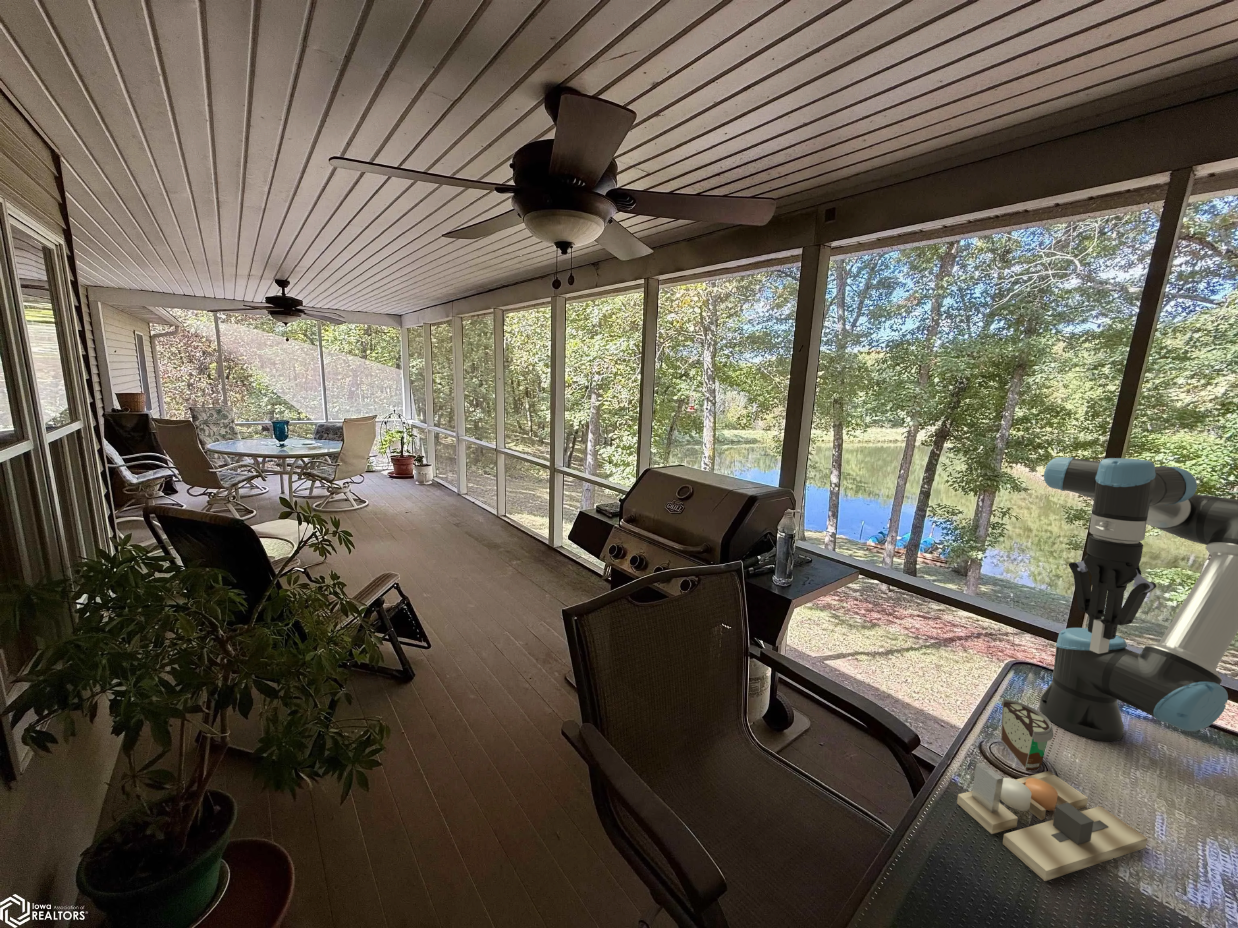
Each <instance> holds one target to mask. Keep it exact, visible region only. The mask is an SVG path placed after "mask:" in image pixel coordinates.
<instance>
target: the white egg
mask: <svg viewBox="0 0 1238 928" xmlns="http://www.w3.org/2000/svg"><path fill="white" fill-rule="evenodd" d="M1002 778H1003V784H1002V790H1001V796H1000V801H1001V802H1003V803H1004V804H1005V805H1006V806H1007V807H1009V808H1012V809H1013V810H1017V811H1022V812H1027V811H1029V808H1030V802H1031V791H1030V790H1029V788H1028V787H1027V786H1025V785H1024V784H1022V783H1021V782H1019V781H1017V780H1016V779H1014V778H1010V777H1002Z"/></svg>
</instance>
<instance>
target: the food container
mask: <svg viewBox="0 0 1238 928" xmlns="http://www.w3.org/2000/svg"><path fill="white" fill-rule="evenodd" d="M1000 705H1001V708H1002V711H1001V730H1000V731H1001V732H1000V734H1001V735H1000V741H1001V742H1002V744H1003V745H1004V746H1005V747H1006V748H1007V750H1008V751H1009V752H1010V753H1011V754H1012V755H1013V757H1014V759H1016V761H1017V763H1019V764H1020V765H1021V766H1023V767H1024V768H1023V767H1022V768H1023V769H1024V770H1025V771H1029V770H1031V771H1037V769H1038V770H1040V768H1041V767H1042V763H1043V761H1044V756H1045V753H1046V750H1047V749H1046V748H1047V746H1048V742H1049V741H1051V740H1052V739H1053V738H1054V729H1053V725H1052V723H1051V721H1050V720H1049V719H1047V717H1046V716H1044V715H1043V714H1042V712H1041V711H1040V710H1038V709H1035V708H1034V707H1031V706H1029V705H1028V704H1024V703H1022V702H1018V701H1016V700H1013V699H1008V698H1007V699H1006V698H1002V701H1001V703H1000ZM1031 771H1030V772H1031Z"/></svg>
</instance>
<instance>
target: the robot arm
mask: <svg viewBox="0 0 1238 928" xmlns="http://www.w3.org/2000/svg"><path fill="white" fill-rule="evenodd" d="M1043 480H1044V483H1045V484H1046V486H1048V487H1049V488H1051V489H1055V490H1060V491H1062V492H1070V493H1071V492H1072V493H1075V494H1078V495H1081V496H1083V497H1087V498H1089V499H1092V500H1093V504H1092V510H1091V516H1090V524H1089V533H1090V535H1089V536H1088V537H1087V543H1086V544H1087V545H1086V553H1087V554H1086V555H1085V556H1084V557H1083V560H1081V561H1076V562H1075V561H1074V562H1069V564H1068V567H1069V569H1070V570H1071V572H1072V574H1073V581H1074V589H1075V595H1076V601H1077V603H1076V604H1077V609H1078V610H1079V611H1080V612H1082V613H1083V612H1084V613H1085V614H1087V616H1088V624H1087V627H1085V628H1084V627H1067V628H1065V629H1062V630H1061V631H1059V633H1058V637H1057V641H1056V643H1055V653H1054V655H1055V656H1054V661H1053V662H1054V664H1053V672H1052V679H1051V682H1050V684H1049V685H1048V686H1047V688H1046V690H1045V691H1044V692H1043V694H1042V695H1041V697H1040V700H1039V705H1038V708H1039V712H1040V713H1042V714H1043V715H1044V716H1046V717H1047V719H1048V720H1049V721H1050V722H1052V723H1053V724H1055V725H1057V726H1058V727H1060V728H1062V729H1064V730H1066V731H1067V732H1070V733H1073V734H1076V735H1078V736H1080V737H1085V738H1088V739H1092V740H1095V741H1104V742H1115V741H1120V740H1121V739H1122V738H1123V736H1124V729H1125V725H1124V722H1123V720H1122V719H1123V718H1122V716H1121V711H1120V707H1119V705H1118V701H1119V702H1122V703H1125V704H1126V705H1128V706H1131V708H1135V709H1137V710H1138V711H1140V712H1143V713H1145V714H1147V715H1150V716H1152V717H1154V718H1155V719H1156V720H1158V721H1159V722H1161V723H1166V724H1168V725H1171V726H1173V727H1175V728H1178V729H1180V730H1184V731H1186V732H1197V731H1200V730H1203V729H1206V728H1208V727H1210V726H1211V725H1212V724H1214V723H1215V722H1216V721H1217V720H1218V719H1219V718H1220V717H1221V715H1222V714H1223V713H1224V711H1225V709H1226V707H1227V706H1226V703H1228V700H1229V695H1228V691H1227V690H1226V689H1225V688H1224V687H1223V686H1222V685H1221V684H1222V682H1223V678H1222V677H1221V675H1220V674H1219V672H1218V671H1217V667H1218V665H1219V664H1220V662H1221V661H1222V659H1223V657H1224V655H1225V654H1226V652H1227V650H1228V649H1229V647H1230V645H1231V643H1232V642H1233V641H1234V639H1235V637H1236V635H1237V634H1238V499H1234V498H1227V497H1221V496H1214V495H1205V494H1204V495H1203V494H1197V493H1196V491H1197V489H1198V484H1197V483H1198V482H1197V480H1196V478H1195V476H1194V475H1193V473H1191V472H1190V471H1187V470H1186V469H1185V468H1181V467H1178V466H1167V465H1160V466H1156V465H1155V463H1154V462H1152V460H1151V461H1150V460H1145V459H1138V458H1137V459H1136V458H1126V457H1125V458H1121V457H1116V458H1115V457H1109V458H1108V457H1107V458H1104V459H1102V460H1092V459H1084V458H1075V457H1073V456H1072V457H1062V456H1060V457H1059V456H1058V457H1055V458H1052V459H1051V460H1050V461H1049V462H1048V463H1047V464H1046V466H1045V469H1044V472H1043ZM1195 493H1196V494H1195ZM1147 525H1148V526H1151V527H1153V528H1156V529H1158V530H1160V531H1163V532H1165V533H1168V534H1170V535H1173V536H1175V537H1179V538H1182V539H1184V540H1187V541H1189V542H1193V543H1196V544H1201V545H1205V549H1206V551H1207V553H1209V555H1210V558H1209V559H1208V562H1207V564H1206V565H1205V566H1204V568H1203V569H1202V572H1201V573H1200V575H1199V576H1198V578H1197V579H1196V581H1195V583H1194V585H1193V586H1192V588H1191V589H1190V591H1189V593H1188V594H1187V596H1186V598H1185V599H1184V601H1183V602H1182V604H1181V606H1180V608H1179V609H1178V611H1177V612H1176V614H1175V616H1174V617H1173V619H1172V621H1171V623H1170V624H1169V626H1168V627H1167V629H1166V631H1165V633H1164V634H1163V636H1162V637H1161V639H1160V640H1159V643H1155V644H1147V645H1145V646H1144V648H1143V649H1142V650H1141V652H1140V653H1138V652H1136V651H1133V650H1130V649H1128V648H1127V646H1128V644H1127V641H1126V640H1125V638H1123V637H1121V636H1119V635H1117V630H1118V626H1124V625H1125V626H1126V625H1130V624H1132V623H1133V622H1134V619H1135V617H1136V615H1137V614H1138V612H1139V610H1140V608H1141V607H1142V604H1143V603H1144V602H1145V600H1146V597H1147V596H1148V594H1149V593H1150V592H1152V591H1153V590H1155V589H1156V588H1157V584H1156V582H1154V581H1148V580H1147V579H1146V578H1145V577H1143V576H1142V571H1141V568H1140V563H1141V561H1142V556H1143V549H1144V544H1143V543H1142V541H1144V540H1146V539H1145V538H1146V530H1147ZM1090 576H1091V579H1090ZM1133 581H1134V582H1133ZM1131 582H1133V583H1132V590H1130V592H1129V594H1128V596H1127V598H1126V599H1125V602H1124V596H1125V591H1126V590H1127V587H1128V584H1130V583H1131Z"/></svg>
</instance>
